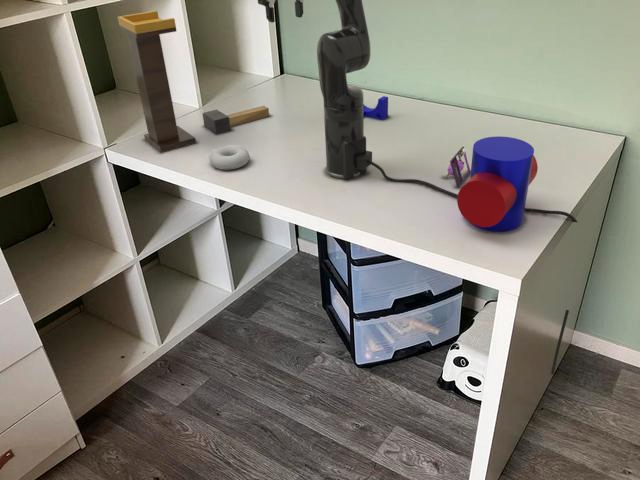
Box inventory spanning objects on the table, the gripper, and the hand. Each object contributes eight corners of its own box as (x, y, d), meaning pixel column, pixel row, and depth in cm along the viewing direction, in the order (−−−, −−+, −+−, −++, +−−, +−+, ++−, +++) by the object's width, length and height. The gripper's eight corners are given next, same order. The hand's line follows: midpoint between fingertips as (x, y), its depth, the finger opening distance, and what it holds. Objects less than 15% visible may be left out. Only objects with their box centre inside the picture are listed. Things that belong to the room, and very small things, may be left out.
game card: (454, 160, 142) (466, 145, 149) (433, 163, 145) (446, 149, 151) (461, 187, 145) (473, 171, 151) (441, 189, 148) (453, 174, 154)
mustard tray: (176, 27, 151) (174, 18, 150) (136, 34, 146) (134, 25, 145) (157, 18, 158) (156, 10, 157) (119, 25, 153) (117, 16, 152)
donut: (204, 170, 154) (242, 173, 153) (201, 157, 153) (240, 160, 151) (219, 154, 163) (255, 156, 161) (217, 141, 161) (254, 143, 159)
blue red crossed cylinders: (485, 192, 143) (493, 126, 134) (536, 204, 138) (547, 136, 129) (449, 231, 129) (455, 160, 120) (504, 246, 124) (515, 174, 115)
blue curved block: (345, 113, 185) (345, 94, 182) (353, 109, 188) (353, 89, 185) (379, 121, 180) (379, 101, 176) (387, 117, 183) (388, 96, 179)
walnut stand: (196, 142, 168) (176, 27, 151) (161, 152, 163) (136, 34, 146) (178, 130, 176) (157, 18, 158) (144, 139, 171) (119, 25, 153)
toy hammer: (273, 118, 182) (272, 105, 180) (216, 134, 173) (214, 120, 171) (260, 111, 187) (259, 98, 185) (204, 126, 178) (202, 112, 176)
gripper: (263, -45, 149) (269, 26, 159) (312, -50, 156) (315, 17, 166) (247, -48, 154) (254, 21, 163) (296, -54, 161) (300, 13, 171)
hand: (285, 19), depth 165 cm, fingers open, 8 cm apart
